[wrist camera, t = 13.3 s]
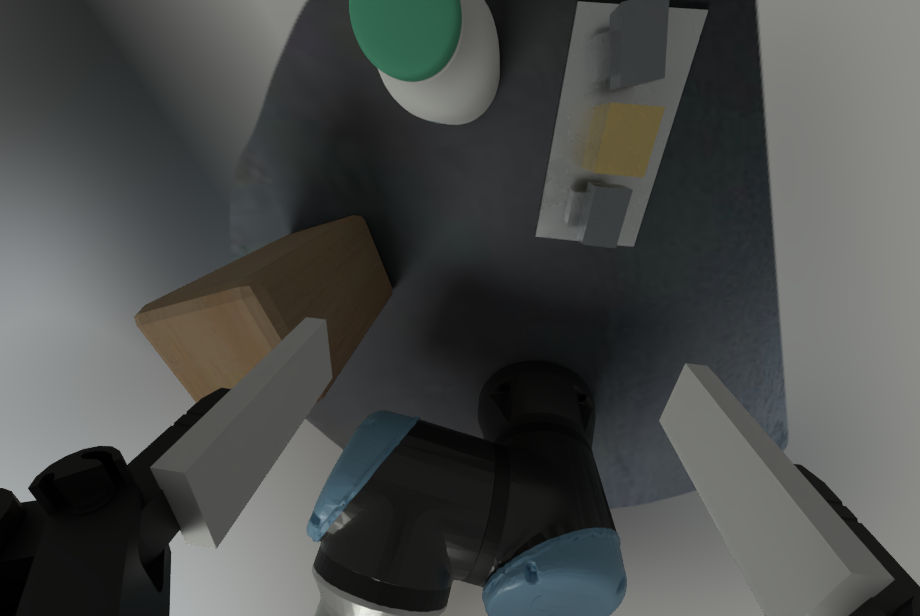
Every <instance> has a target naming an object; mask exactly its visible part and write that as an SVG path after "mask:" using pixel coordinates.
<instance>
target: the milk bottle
mask: <svg viewBox="0 0 920 616" xmlns="http://www.w3.org/2000/svg"><path fill="white" fill-rule="evenodd" d="M349 11H350V19H351V24H352V28H353V31H354V34H355V37H356V39H357V41H358V44H359V45H360V47H361V49H362V51H363V52H364V54H365V55H366V57H367V58H368V59H369V60H370V61H371V63H372V64H374V65H375V66H376V67H377V68H378V71H379V73H380V76H381V78H382V80H383V82H384V84H385V86H386V88H387V89H388V91H389V92H390V94H391V95H392V96H393V98H394V99H395V100H396V101H397V102H398V103H399V104H400V105H401V106H402V107H403V108H404V109H406V110H407V111H408V112H410V113H411V114H413V115H415V116H417V117H419V118H422V119H425V120H427V121H431V122H435V123H441V124H449V125H460V124H465V123H468V122H471V121H473V120H475V119H477V118H478V117H479V116H481V115H482V114H483V113H484V112H485V111H486V110H487V109H488V107H489V106H490V104H491V103H492V101H493V99H494V97H495V95H496V92H497V88H498V84H499V78H500V55H499V43H498V36H497V31H496V27H495V23H494V20H493V17H492V14H491V12H490V10H489V8H488V5H487V4H486V2H485V0H349Z"/></svg>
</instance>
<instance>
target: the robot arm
mask: <svg viewBox="0 0 920 616" xmlns="http://www.w3.org/2000/svg"><path fill="white" fill-rule="evenodd" d="M331 379H332V369H331V360H330V351H329V342H328V333H327V324H326V320H325V319H317V318H309V317H306V318H305V319H304V320H303V321H302V322H301V323H300V324H299V325H298V326H297V327H295V328H294V329H293V330H292V331H291V332H290V333H289V334H288V335H287V336H286V337H285V338H284V339H283V340H282V341H281V342H280V343H279V344H278V345H277V346H276V347H275V348H274V349H273V350H272V351H271V352H269V353H268V354H267V355H266V356H265V357H264V358H263V359H262V360H261V361H260V362H259V363H258V364H257V365H256V366H255V367H254V368H253V369H252V370H251V371H250V372H249V373H248V374H247V375H246V376H245V377H243V378H242V379H241V380H240V381H239V382H238V383H237V384H236V385H235V386H234V387H233V388H232V389H228V388H219V389H218V390H216V391H214V392H212V393H210V394H208V395H207V396H205V397H203V398H201V399H200V400H199V401H198V402H197V403H196V404H195V405H194V406H193V407H191V408H190V409H189V410H188V411H187V413H186V415H182V416H181V417H180V418H179V419H178V420H177V421H176V422H175V423H174V425H173V426H170V427H169V428H168V429H167V430H166V431H165V432H164V433H162V434H161V435H160V436H159V437H158V438H157V439H156V440H155V441H153V443H151V444H150V445H149V446H148V447H147V448H146V449H145V450H143V451H142V452H141V453H140V454H139V455H138V456H137V457H136V458H134V459H133V460H132V461H131V462H130V463H129V464H128V465H127V464H126V462H125V460H124V458H123V456H122V454H121V453H120V451H119V450H117V449H116V448H114V447H111V446H97V447H92V448H87V449H83V450H80V451H78V452H76V453H73V454H70V455H68V456H65V457H64V458H62V459H60V460H58V461H57V462H55V463H53V464H51V465H50V466H48V467H47V468H46V469H45V470H44V471H43V472H41V473H40V474H39V475H38V476H36V478H35V479H34V481H33V482H32V483H31V485H30V486H29V488H28V489H29V490H30V492H31V493H32V494H33V496H34V497H35V498H36V501H29V502H23V503H20V502H19V500H18V499H17V498H16V496H15V495H14V494H13V493H12V491H9V490H6V489H3V488H0V616H169V609H170V573H171V551H170V547H169V542H170V541H171V540H172V539H173V537H174V536H175V535H176V533H177V532H178V531H179V530H180V531H181V533H182V535H183V537H184V539H185V541H186V543H187V544H191V545H198V546H204V547H210V548H217V547H218V546H219V544H220V543H221V541H222V540H223V538H224V537H225V535H226V534H227V532H228V531H229V529H230V528H231V527H232V525H233V524H234V522H235V521H236V519H237V518H238V516H239V515H240V513H241V512H242V510H243V509H244V507H245V506H246V504H247V503H248V501H249V500H250V499H251V497H252V496H253V494H254V493H255V491H256V490H257V488H258V487H259V485H260V484H261V482H262V481H263V479H264V478H265V476H266V475H267V473H268V472H269V471H270V469H271V468H272V466H273V465H274V463H275V462H276V460H277V459H278V457H279V456H280V454H281V453H282V451H283V450H284V449H285V447H286V446H287V444H288V443H289V441H290V440H291V438H292V437H293V435H294V434H295V432H296V431H297V429H298V428H299V426H300V425H301V423H302V422H303V420H304V419H305V418H306V416H307V415H308V413H309V412H310V410H311V409H312V407H313V406H314V404H315V403H316V401H317V400H318V398H319V397H320V396H321V394H322V393H323V391H324V390H325V388H326V387H327V385H328V384H329V382H330V381H331ZM419 419H420V417H417V416H415V417H409V416H405V415H401V414H397V413H394V412H390V411H377V412H374V413H372V414H371V415H369V416H368V417H367V418H366V419H365V420H364V421H363V422H362V423H361V424H360V426H359V427H358V428H357V430H356V431H355V433H354V434H353V436H352V437H351V439H350V440H349V442H348V444H347V445H346V447H345V449H344V450H343V452H342V454H341V456H340V457H339V459H338V461H337V463H336V464H335V466H334V468H333V470H332V472H331V474H330V476H329V478H328V479H327V481H326V483H325V485H324V487H323V489H322V492H321V494H320V495H319V498H318V500H317V502H316V505H315V508H314V511H313V514H312V516H311V518H310V520H309V522H308V525H307V534H308V536H310V537H311V538H312V539H313V541H314V542H319V541H321V545H320V548H319V551H318V553H317V556H316V559H315V562H314V565H313V567H312V572H313V575H314V578H315V580H316V583H317V586H318V588H319V591H320V594H321V600H320V603H319V606H318V608H317V611H316V614H315V616H439V615H440V614H441V613H443V612H444V610H445V609H446V606H447V602H448V598H449V593H450V589H451V585H452V582H453V580H460V581H464V582H467V583H471V584H474V585H478V586H481V587H483V594H482V599H483V602H484V605H485V609H486V612H487V614H488V616H609V615H611V614H612V613H613V612H614V611H615V610H616V609H617V608H618V606H619V605H620V604H621V602H622V600H623V598H624V596H625V592H626V587H627V579H626V573H625V569H624V564H623V559H622V554H621V550H620V538H619V536H618V533H617V532H616V529H615V526H614V522H613V519H612V516H611V512H610V509H609V506H608V502H607V499H606V496H605V492H604V489H603V486H602V482H601V479H600V476H599V472H598V469H597V466H596V462H595V459H594V456H593V452H592V442H593V434H594V426H595V407H594V403H593V400H592V397H591V394H590V392H589V389H588V387H587V386H586V384H585V383H584V382H583V380H582V379H581V378H580V377H579V376H577V375H576V374H575V373H573V372H572V371H570V370H568V369H567V368H564V367H562V366H559V365H556V364H553V363H548V362H539V361H532V362H523V363H518V364H514V365H511V366H509V367H506V368H504V369H502V370H500V371H499V372H497V373H496V374H495V375H493V376H492V377H491V378H490V379H489V380H488V381H487V382H486V384H485V385H484V387H483V389H482V391H481V393H480V397H479V404H478V420H479V425H480V428H481V431H482V434H483V436H484V439H485V440H484V439H481V438H478V437H475V436H471V435H468V434H465V433H462V432H458V431H455V430H452V429H449V428H445V427H442V426H439V425H436V424H432V423H429V422H426V421H423V420H419ZM659 422H660V423H661V425H662V427H663V429H664V431H665V433H666V434H667V436H668V438H669V440H670V442H671V444H672V445H673V447H674V449H675V451H676V453H677V455H678V456H679V458H680V460H681V462H682V464H683V466H684V467H685V469H686V471H687V473H688V475H689V477H690V478H691V480H692V482H693V484H694V486H695V488H696V490H697V491H698V493H699V495H700V497H701V499H702V500H703V502H704V504H705V506H706V508H707V510H708V512H709V513H710V515H711V517H712V519H713V521H714V522H715V524H716V526H717V528H718V530H719V532H720V534H721V535H722V537H723V539H724V541H725V543H726V545H727V546H728V548H729V550H730V552H731V554H732V556H733V557H734V559H735V561H736V563H737V565H738V567H739V568H740V570H741V572H742V574H743V576H744V577H745V580H746V581H747V583H748V585H749V587H750V589H751V591H752V592H753V594H754V596H755V598H756V600H757V602H758V603H759V605H760V607H761V609H762V611H763V612H764V614H765V616H920V587H919V585H917V583H916V582H915V581H914V580H913V579H912V578H911V577H910V576H909V574H907V572H906V571H905V570H904V569H903V568H902V567H901V566H900V565H899V564H898V562H897V561H896V560H895V559H894V558H893V557H892V556H891V555H890V554H889V553H888V552H887V551H886V549H885V548H884V547H883V546H882V545H881V544H880V543H879V542H878V541H877V540H876V539H875V537H874V536H873V535H872V534H871V533H870V532H869V531H868V530H867V529H866V528H865V527H864V525H862V523H858V521H857V518H856V517H855V516H854V515H853V513H852V512H851V511H850V510H849V509H848V508H847V507H846V506H843V505H842V501H841V500H840V499H839V498H838V497H837V496H836V495H835V494H834V493H833V492H832V491H831V489H829V487H828V486H827V485H826V484H825V483H824V482H823V481H821V480H820V479H819V478H817V477H816V476H815V475H814V474H812V473H811V472H809V471H808V470H807V469H806V468H804V467H803V466H802V465H797V464H793V463H792V462H791V461H790V459H788V457H787V456H786V455H785V454H784V453H783V451H782V450H781V449H780V448H779V447H778V446H777V445H776V443H775V442H774V441H773V440H772V439H771V438H770V437H769V435H768V434H767V433H766V432H765V431H764V430H763V429H762V427H761V426H760V425H759V424H758V423H757V422H756V421H755V419H754V418H753V417H752V416H751V415H750V414H749V413H748V411H747V410H746V409H745V408H744V407H743V406H742V405H741V403H740V402H739V401H738V400H737V399H736V398H735V397H734V396H733V394H732V393H731V392H730V391H729V390H728V389H727V388H726V386H725V385H724V384H723V383H722V382H721V381H720V380H719V378H718V377H717V376H716V375H715V374H714V373H713V372H712V370H711V369H710V368H709V367H708V366H703V365H695V364H687V363H685V365H684V367H683V370H682V372H681V374H680V376H679V378H678V380H677V383H676V385H675V387H674V389H673V391H672V394H671V396H670V398H669V400H668V402H667V405H666V407H665V409H664V411H663V413H662V415H661V418H660V420H659Z"/></svg>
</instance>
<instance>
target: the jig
mask: <svg viewBox="0 0 920 616" xmlns="http://www.w3.org/2000/svg"><path fill="white" fill-rule="evenodd" d="M707 13H708V10H701V9H686V8H670V7H669V0H627V1H623V2H621V3H620V4H610V3H595V2H580V1H578V2H577V4H576V5H575V11H574V17H573V22H572V28H571V33H570V39H569V45H568V50H567V56H566V61H565V67H564V73H563V78H562V84H561V90H560V95H559V101H558V106H557V112H556V118H555V123H554V129H553V134H552V140H551V146H550V151H549V157H548V162H547V168H546V174H545V179H544V185H543V190H542V196H541V202H540V207H539V213H538V218H537V224H536V230H535V236H536V237H545V238H555V239H564V240H574V241H579V242H580V243H581V244H582V245H589V246H599V247H608V248H616V246H617V245H622V246H631V247H634V244H635V241H636V238H637V235H638V232H639V228H640V225H641V222H642V219H643V216H644V212H645V209H646V206H647V203H648V200H649V197H650V193H651V190H652V187H653V184H654V181H655V178H656V174H657V171H658V168H659V165H660V162H661V159H662V155H663V152H664V149H665V146H666V143H667V140H668V136H669V133H670V130H671V127H672V124H673V121H674V117H675V114H676V111H677V108H678V105H679V101H680V98H681V95H682V92H683V89H684V86H685V82H686V79H687V76H688V73H689V70H690V67H691V63H692V60H693V57H694V54H695V51H696V48H697V44H698V41H699V38H700V35H701V32H702V29H703V25H704V22H705V19H706V16H707ZM610 102H612V103H624V104H636V105H649V106H661V107H665V110H664V113H663V116H662V120H661V123H660V126H659V130H658V133H657V136H656V140H655V143H654V146H653V150H652V153H651V156H650V159H649V163H648V166H647V169H646V173H645V176H644V178H641V177H631V176H620V175H609V174H598V173H593V172H591V171H588V170H586V169H584V168H582V163H583V158H584V154H585V149H586V145H587V140H588V136H589V131H590V126H591V122H592V117H593V113H594V108H595V106H598V105H602V104H606V103H610Z"/></svg>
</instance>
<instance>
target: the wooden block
mask: <svg viewBox="0 0 920 616" xmlns="http://www.w3.org/2000/svg"><path fill="white" fill-rule="evenodd" d="M391 295H392V286H391V283H390V281H389V279H388V276H387V274H386V271H385V269H384V266H383V264H382V261H381V259H380V256H379V254H378V251H377V249H376V246H375V244H374V241H373V239H372V236H371V234H370V231H369V229H368V226H367V224H366V221H365V220H364V219H363V217H362V216H357V215H352V216H349V217H345V218H342V219H339V220H335V221H332V222H328V223H325V224H322V225H318V226H315V227H312V228H308V229H305V230H302V231H298V232H295V233H291V234H289V235H287V236H285V237H283V238H281V239H279V240H277V241H275V242H273V243H270V244H268V245H266V246H264V247H262V248H260V249H258V250H256V251H254V252H252V253H250V254H248V255H246V256H244V257H242V258H240V259H238V260H236V261H234V262H232V263H230V264H228V265H226V266H224V267H222V268H220V269H218V270H216V271H214V272H212V273H210V274H207V275H206V276H203V277H201V278H199V279H197V280H195V281H193V282H191V283H189V284H187V285H185V286H183V287H181V288H179V289H177V290H175V291H173V292H171V293H169V294H167V295H165V296H163V297H161V298H159V299H157V300H155V301H153V302H151V303H149V304H146V305H145V306H144V307H143V308H142V309H141V310H140V311H139V313H138V314H136V316H134V317H135V321H136V325H137V326H138V328H139V329H140V330H141V332H142V333H143V334H144V335H145V337H146V338H147V339H148V341H149V342H150V343H151V345H152V346H153V347H154V348H155V350H156V351H157V352H158V353H159V355H160V356H161V357H162V359H163V360H164V361H165V363H166V364H167V365H168V367H169V368H170V369H171V371H173V373H174V374H175V376H176V377H177V378H178V380H179V381H180V382H181V383H182V385H183V386H184V387H185V389H186V390H187V391H188V393H189V394H190V395H191V396H192V398H193V399H194V400H195V402H196V403H197V402H198V401H199V400H200V399H201V398H203V397H205V396H207V395H208V394H210V393H212V392H214V391H216V390H218V389H219V388H228V389H232V388H233V387H234V386H235V385H236V384H237V383H238V382H239V381H240V380H241V379H242V378H243V377H245V376H246V375H247V374H248V373H249V372H250V371H251V370H252V369H253V368H254V367H255V366H256V365H257V364H258V363H259V362H260V361H261V360H262V359H263V358H264V357H265V356H266V355H267V354H268V353H269V352H271V351H272V350H273V349H274V348H275V347H276V346H277V345H278V344H279V343H280V342H281V341H282V340H283V339H284V338H285V337H286V336H287V335H288V334H289V333H290V332H291V331H292V330H293V329H294V328H295V327H297V326H298V325H299V324H300V323H301V322H302V321H303V320H304V319H305V318H306V317H309V318H317V319H325V320H326V324H327V333H328V342H329V351H330V360H331V369H332V379H331V381H330V382H329V384H328V385H327V387H326V388H325V390H324V391H323V393H322V394H321V396H320V397H319V398H318V400H317V401H316V402H318V401H319V400H321V399H322V398H324V396H325V395H326V393H327V392H328V390H329V389H330V387H331V386H332V384H333V383H334V381H335V380H336V378H337V376H338V375H339V373H340V372H341V370H342V369H343V367H344V366H345V364H346V363H347V361H348V360H349V358H350V357H351V355H352V354H353V352H354V351H355V349H356V348H357V346H358V345H359V343H360V342H361V340H362V339H363V337H364V336H365V334H366V333H367V331H368V330H369V328H370V327H371V325H372V324H373V322H374V321H375V319H376V318H377V316H378V315H379V313H380V312H381V310H382V309H383V307H384V306H385V304H386V303H387V301H388V300H389V298H390V297H391Z"/></svg>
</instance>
